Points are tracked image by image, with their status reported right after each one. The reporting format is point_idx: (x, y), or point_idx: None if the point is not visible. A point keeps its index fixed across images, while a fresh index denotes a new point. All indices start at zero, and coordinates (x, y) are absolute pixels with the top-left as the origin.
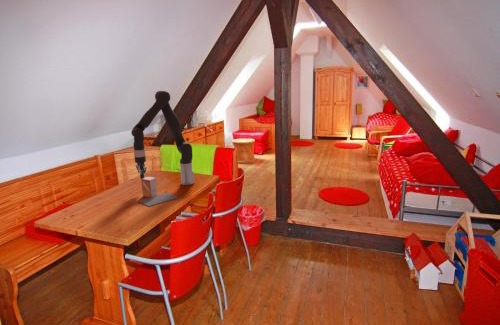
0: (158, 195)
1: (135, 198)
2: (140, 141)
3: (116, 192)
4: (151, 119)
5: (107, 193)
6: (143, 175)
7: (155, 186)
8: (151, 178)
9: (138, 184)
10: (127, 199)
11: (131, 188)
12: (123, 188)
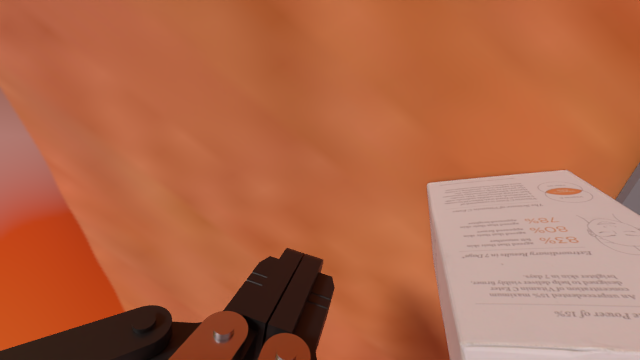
0: (632, 207)
1: (413, 318)
2: None
3: (167, 268)
4: None
5: (145, 300)
6: (320, 327)
7: None
8: None
9: (93, 37)
10: (371, 348)
11: (158, 156)
12: (115, 186)
